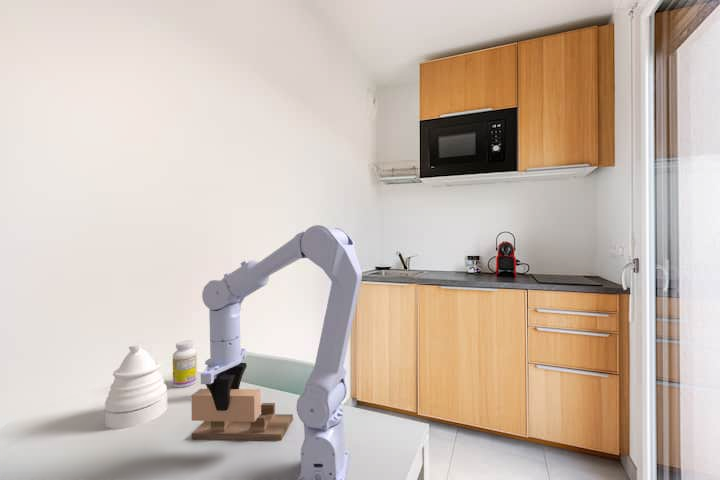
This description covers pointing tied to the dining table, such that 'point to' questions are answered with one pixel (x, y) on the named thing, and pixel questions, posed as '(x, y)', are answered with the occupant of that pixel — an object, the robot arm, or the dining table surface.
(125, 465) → the dining table surface
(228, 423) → the wooden block stand
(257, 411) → the clay bar
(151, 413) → the honey pot
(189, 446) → the dining table surface
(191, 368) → the supplement bottle
